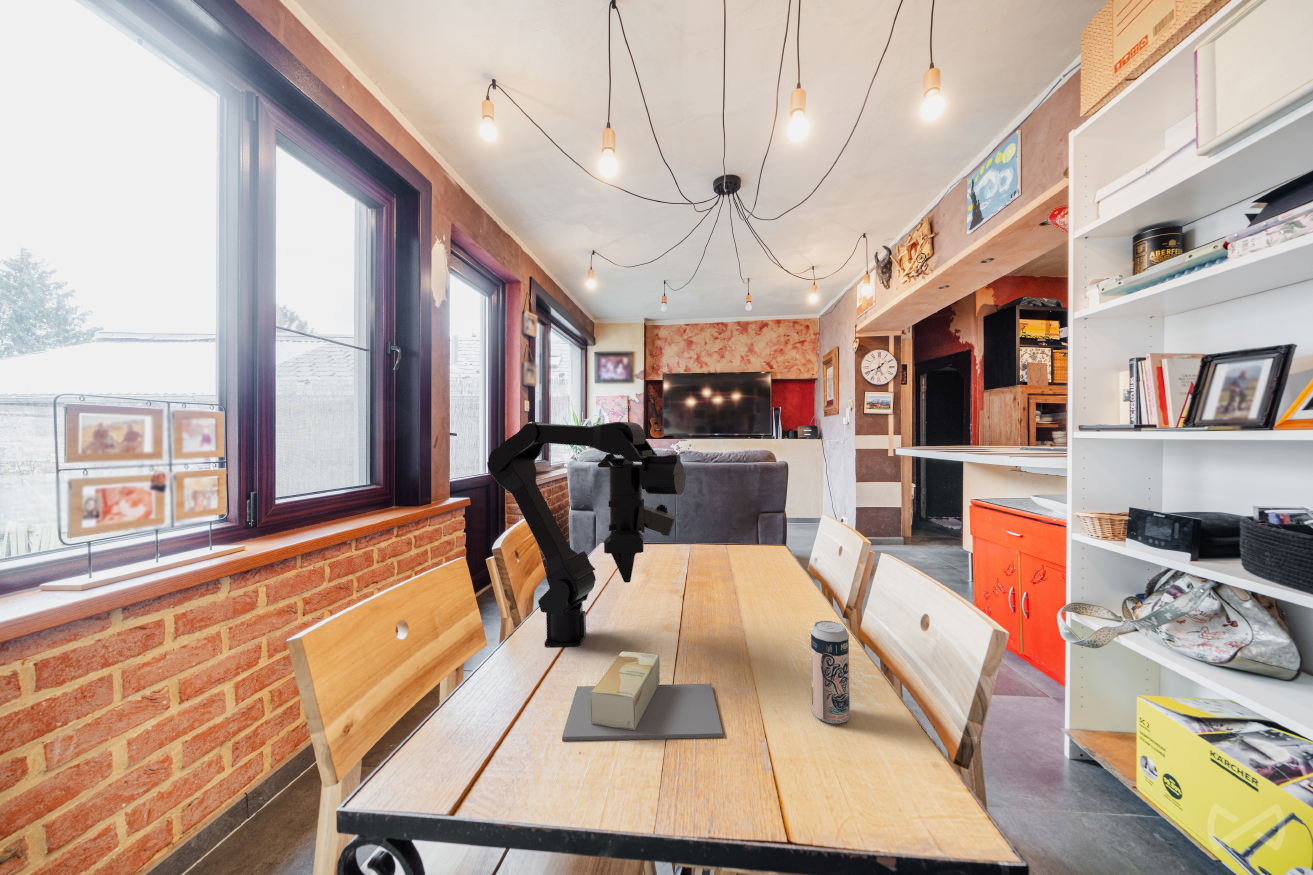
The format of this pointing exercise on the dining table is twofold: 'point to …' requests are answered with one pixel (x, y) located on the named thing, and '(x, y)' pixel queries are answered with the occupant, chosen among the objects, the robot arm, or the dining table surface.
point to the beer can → (830, 672)
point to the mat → (652, 716)
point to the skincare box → (625, 690)
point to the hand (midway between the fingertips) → (627, 581)
